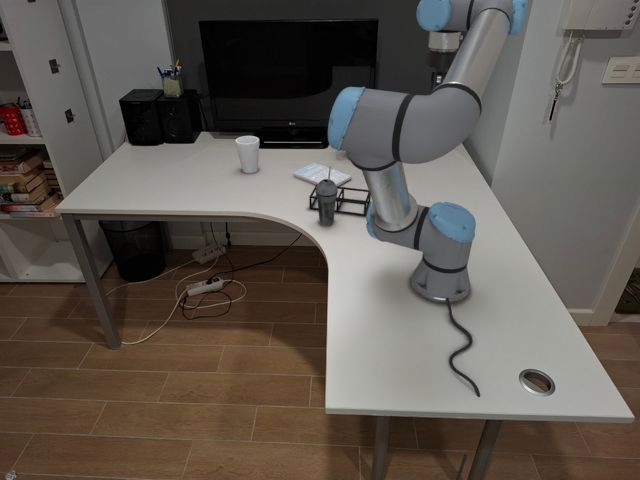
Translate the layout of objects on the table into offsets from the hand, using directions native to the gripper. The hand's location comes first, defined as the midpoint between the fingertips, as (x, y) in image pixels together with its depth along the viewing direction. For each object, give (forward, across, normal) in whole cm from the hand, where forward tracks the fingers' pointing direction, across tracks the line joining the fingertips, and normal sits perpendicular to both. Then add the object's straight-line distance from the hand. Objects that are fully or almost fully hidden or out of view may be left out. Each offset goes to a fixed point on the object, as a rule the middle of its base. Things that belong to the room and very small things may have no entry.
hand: (431, 131), depth 123 cm
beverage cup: (+35, +1, +30) cm, 46 cm away
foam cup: (+35, +34, +71) cm, 86 cm away
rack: (+35, +13, +28) cm, 46 cm away
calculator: (+35, +34, +40) cm, 63 cm away
